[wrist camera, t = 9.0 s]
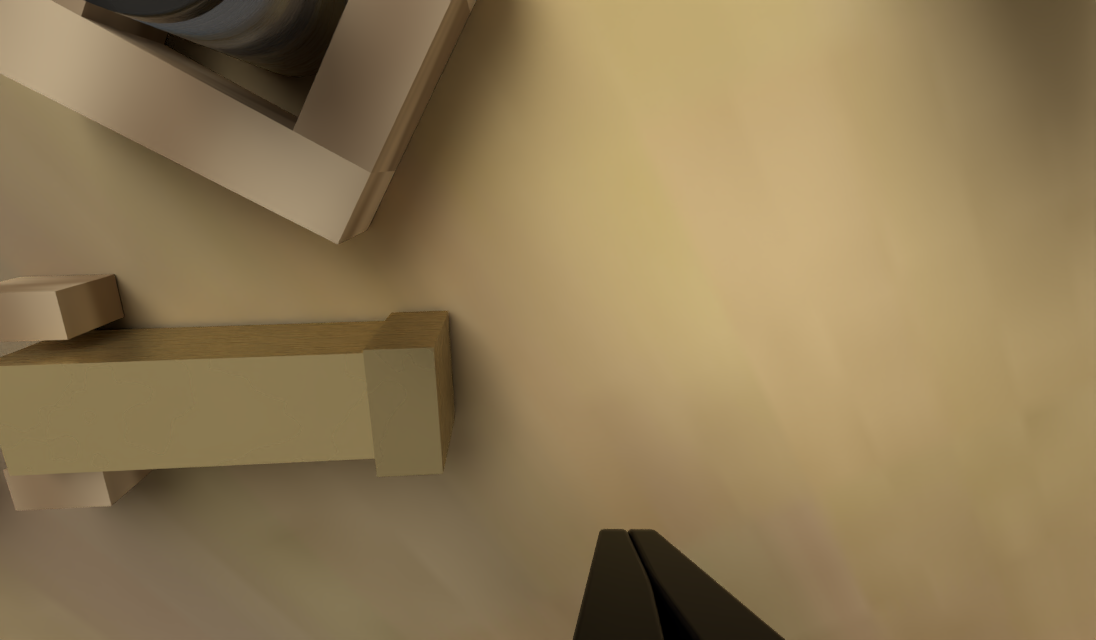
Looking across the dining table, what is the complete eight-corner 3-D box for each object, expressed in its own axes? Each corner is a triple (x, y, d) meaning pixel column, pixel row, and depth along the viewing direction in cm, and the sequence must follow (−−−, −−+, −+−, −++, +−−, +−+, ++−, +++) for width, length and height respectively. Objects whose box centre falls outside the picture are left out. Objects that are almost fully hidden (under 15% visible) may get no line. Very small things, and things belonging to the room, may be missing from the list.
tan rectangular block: (448, 311, 20) (433, 347, 16) (454, 415, 21) (443, 474, 17) (65, 322, 19) (-48, 364, 15) (94, 431, 20) (-6, 495, 16)
